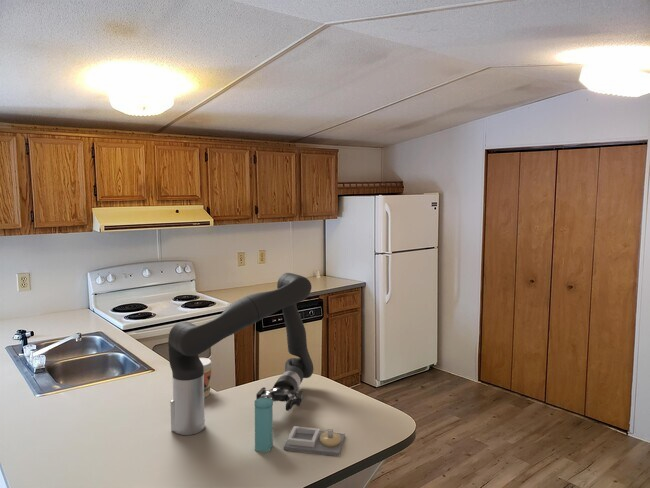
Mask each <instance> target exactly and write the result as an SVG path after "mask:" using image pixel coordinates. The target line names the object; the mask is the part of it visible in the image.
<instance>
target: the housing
mask: <svg viewBox="0 0 650 488" xmlns="http://www.w3.org/2000/svg"><path fill="white" fill-rule="evenodd" d="M345 439H346V433H341V432H335V431H334V428H329V429H327V431H324V430H321V429H320V428H314V427H307V426H297V425H293V427H292V429H291V431H290V433H289V435H288V436H287V439H286V442H285V443H284V446H283V450H284V451H291V452H296V453H297V452H301V453H305V454H306V453H308V454H315V455H316V454H317V455H324V456H332V457H340V454H341V451H342V448H343V445H344V443H345V442H344V441H345Z"/></svg>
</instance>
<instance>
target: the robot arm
mask: <svg viewBox="0 0 650 488" xmlns="http://www.w3.org/2000/svg"><path fill="white" fill-rule="evenodd" d="M312 287H313V286H312V283H311V281H310V280H309V279H308V278H307V277H305V276H303V275H300V274H295V273H293V272H292V273H291V272H284V273H283V274H282V275H280V276H279V278H278V280H277V283H276V288H277V289H273V290H269V291H262V292H256V293H251V294H248V295H245V296H243V297H242V298H238V299H237V300H235V301H233V302H232V303H230V304H229V305H228V306H227V307H226V308H225V309H224V310H223V311H222V312H221V314H220V315H218V316H217V317H216V318H214V319H212V320H209V321H206V322H205V323H201V324H198V325H196V324H194V323H192V322H188V321H179V322H177V323H176V324H174V325H173V326H172V328H171V329H170V331H169V335H168V339H167V341H168V344H167V345H168V359H169V367H170V369H171V371H172V372H171V373H172V399H171V400H170V405H169V406H170V431H171V432H173V433H176V434H177V435H180V436H181V435H182V436H191V435H195V434H198V433H200V432H202V431H203V430H204V429H205V427H206V425H205V420H206V418H205V415H206V414H205V397H204V367H203V364H202V362H201V361H200V359H199V358H200V357H199V355H201V354H202V353H204V352H206V351H207V350H209V349H210V348H212V347H214V346H215V345H216V344H218V343H219V342H221V341H222V340H224V339H226V338H227V337H230V336H232V335H234V334H236V333H237V332H240V331H241V330H244V329H245V328H248V327H250V326H251V325H253V324H256V323H257V322H260V321H262V320H263V319H265V318H267V317H269V316H271V315H273V314H275V313H277V312H279V311H281V310H282V315H283V319H284V325H285V329H286V342H287V352H288V353H289V354H290V355H292V356H295V357H292V358H291V357H290V358H288V359H287V360H286V361H285V364H284V372H283V373H281V375H280V376H279V377H278V379H277V380H276V382H274V385H273V386H272V388H270V389H267V388H266V387H262V388H260V390H258V391H257V393H256V395H255V397H256V398H255V400H256V399H258V398H270V399H272V400H273V403H274V402H284V403H285V411H287V412H289V411H290V410H292V408H293V407H294V406H297V407H301V405H302V402H303V399H304V397H303V395H304V394H303V393H304V392H303V390H299V388H300V385H301V383H303V380H304V379H309V378H311V377H312V375H313V374H314V373H313V372H314V364H313V361H312V360H313V359H312V358H311V356H310V353H309V349H308V343H307V342H308V341H307V332H306V328H305V325H304V322H303V320H302V317H301V316H300V315H301V314H300V313H299V310H298V307H297V304H298V303H301V302H303V301H305V300H306V299H307V298H308V297H309V295H310V293H311V292H312Z"/></svg>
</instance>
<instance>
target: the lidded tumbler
mask: <svg viewBox="0 0 650 488" xmlns="http://www.w3.org/2000/svg"><path fill="white" fill-rule="evenodd" d="M273 405H274V402H273V400H272V398H271V399H270V398H267V397H265V398H258V399H256V398H255V400H254V451H256V452H264V453H269V452H270V451H271V448H272V446H273V440H274V439H273V438H274V435H273V433H274V431H273V429H274V428H273V422H274V421H273V417H274V416H273V413H274V410H273V408H274V407H273Z"/></svg>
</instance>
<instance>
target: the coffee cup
mask: <svg viewBox="0 0 650 488" xmlns="http://www.w3.org/2000/svg"><path fill="white" fill-rule="evenodd" d="M199 359H200V361H201V362H202V364H203V367H204V398H206V397H209V395H210V394H211V384H212V383H211V382H212V366H213V363H212V360H211V359H209V358H207V357H199Z"/></svg>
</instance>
